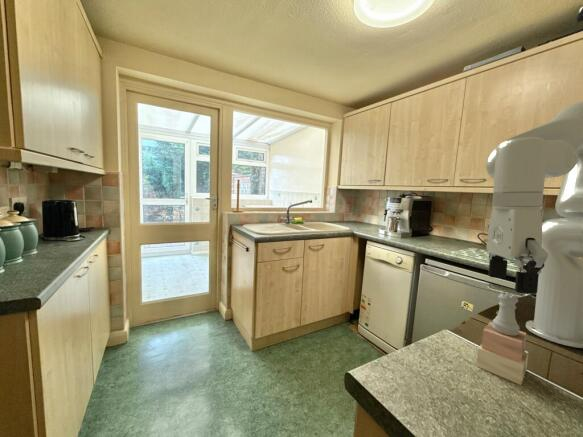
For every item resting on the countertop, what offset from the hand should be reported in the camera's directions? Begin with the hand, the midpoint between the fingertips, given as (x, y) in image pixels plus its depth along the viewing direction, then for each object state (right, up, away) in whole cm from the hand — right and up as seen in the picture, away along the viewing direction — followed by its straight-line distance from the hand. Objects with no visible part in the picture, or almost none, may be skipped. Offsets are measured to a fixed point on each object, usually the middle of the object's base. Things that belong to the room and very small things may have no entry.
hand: (510, 284), depth 51 cm
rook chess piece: (-1, -10, 0) cm, 10 cm away
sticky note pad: (-1, -18, +1) cm, 18 cm away
